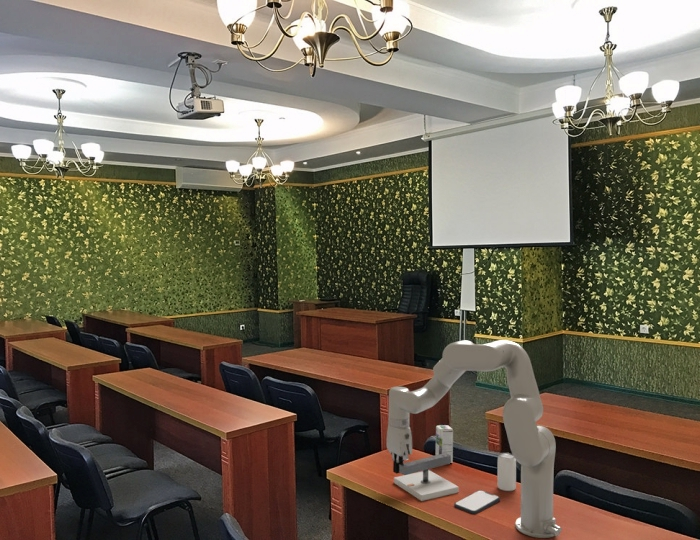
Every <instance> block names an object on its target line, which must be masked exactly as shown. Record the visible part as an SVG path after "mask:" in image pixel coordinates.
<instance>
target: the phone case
mask: <svg viewBox="0 0 700 540" xmlns="http://www.w3.org/2000/svg"><path fill="white" fill-rule="evenodd" d="M500 499H501V498H500V496H498V495H495V494H493V493H490V492H487V491H485V490H482V489H481V490H477V491H475V492H473V493H471V494H470V495H467V496H466V497H464V498H462V499H460V500H458V501H456V502H454V506H455V507H454V508H456V509H458V510H461V511H463V512H466V513H468V512H469V514H471V515H477V514H479V513H481V512H482V510H483V511H484V510H486V509H488V508H490V507H492V506H493V505H495V504H498V503H499V502H500Z"/></svg>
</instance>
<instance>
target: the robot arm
mask: <svg viewBox="0 0 700 540" xmlns="http://www.w3.org/2000/svg"><path fill="white" fill-rule="evenodd" d="M441 356H442V358H441V359H440V360H438V362H437V363H436V364H434V366H433V368H432V372H433V376H432V378H430V379H429V381H428V382H427V383H426V384H424V385H423V386H422V387H420V388H417V389H415V390H411V391H410V389H409V388H407V387H405V386H393V387H390V389H389V390H388V424H387V429H386V430H387V431H386V449H387V450H388V452H389V453H390V455H391V458H392V461H393V462H392V472H393V473H395V474H400V473H399V464H403V463H405V461H408V460H410V457H409V456H410V455H412V454H413V438H412V430H411V427H410V415H411V414H413V415H414V414H415V415H416V414H419V413H421V412H424V411H426V410H428V409H431V408H432V407H434V406H435V405H436V404H437V403H439V401H440V400H441V399H442V398H443V397H444V396H446V394H447V393H448V392H449V391H450V390H451V388H452V386H453V384H454V383H456V381H457V380H458V379H460V378H461V376H462V375H463V374H464V373H465V372H467V371H470V372H494V371H496V370H499V369H501V368H505V370H506V382H507V387H508V388H509V395H510V398H509V399H507V401H506V402H505V403H504V406H503V407H502V408H503V409H502V420H503V423H504V428H505V431H506V435H507V441H508V444H509V448H510V451H511V454H513V456H514V458H515V459H516V462H517V463H518V464H519V465H520V517H518V518H516V520H515V522H514V523H515V524H514V525H515V528H516V530H518V531H519V532H520V533H522V534H524V535H526V536H529V537H532V538H539V539H548V538H553V537H559V536H560V533H561V532H562V530H563V529H562V527H561V526H560V525H557V524H556V523H557V522H556V521H557V520H556V518H555V517H554V470H555V469H554V468H555V457H556V449H557V448H556V439H555V436H554V434H553V432H552V431H551V430H550V429H549V428H548V427H546V426H543V425H539V424H538V425H537V421H539V420H540V419H541V418H542V417H543V414H544V405H543V402H542V399H541V395H540V391H539V387H538V384H537V381H536V378H535V377H536V376H535V374H534V369H533V366H532V363H531V362H532V361H531V359H530V357H529V354H528V353H527V351H526V350H525V349H524V348H523V347H522V346H521V345H520V344H519V343H516V342H514V341H512V340H508V339H498V340H494V341H491V342H488V343H484V344H483V343H481V344H479V343H473V341H470V340H467V339H462V340H459V341H455V342H450V343H449V344H448V345H446V347H444V349H443V351H442V355H441Z"/></svg>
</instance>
